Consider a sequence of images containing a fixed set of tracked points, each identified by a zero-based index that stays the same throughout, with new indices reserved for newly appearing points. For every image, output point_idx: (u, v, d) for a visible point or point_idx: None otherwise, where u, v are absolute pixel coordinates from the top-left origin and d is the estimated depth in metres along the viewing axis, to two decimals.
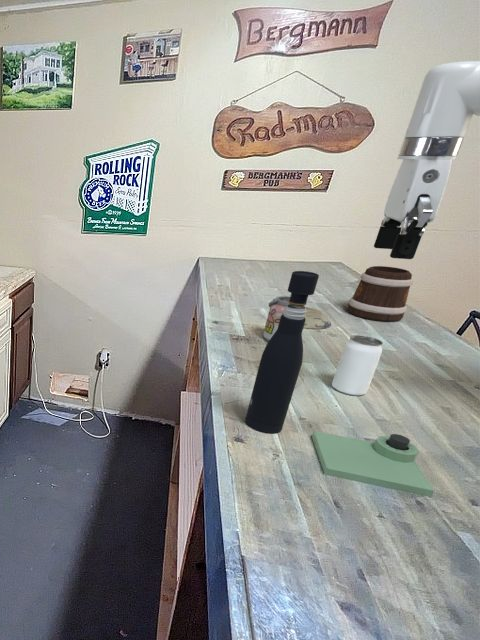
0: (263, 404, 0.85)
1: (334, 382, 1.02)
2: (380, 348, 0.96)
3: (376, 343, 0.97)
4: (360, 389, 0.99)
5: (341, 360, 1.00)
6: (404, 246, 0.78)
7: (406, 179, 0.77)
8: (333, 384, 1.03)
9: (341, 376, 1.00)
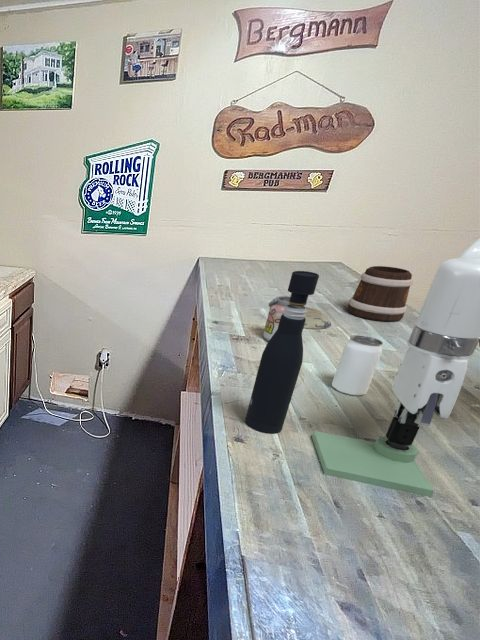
0: (263, 404, 0.85)
1: (334, 382, 1.02)
2: (380, 348, 0.96)
3: (376, 343, 0.97)
4: (360, 389, 0.99)
5: (341, 360, 1.00)
6: (402, 434, 0.76)
7: (417, 371, 0.71)
8: (333, 384, 1.03)
9: (341, 376, 1.00)
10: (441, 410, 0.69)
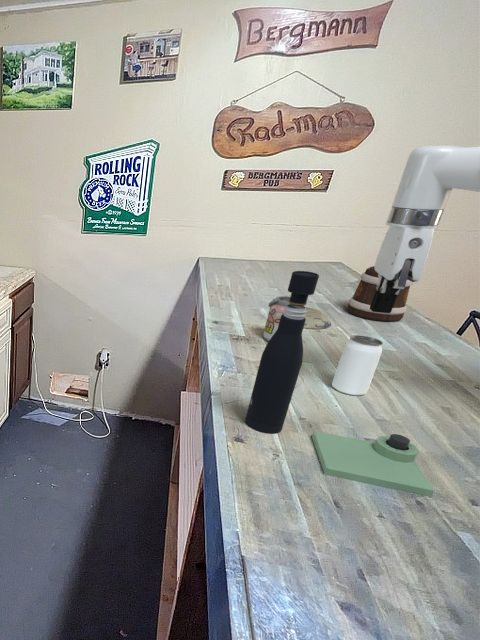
0: (263, 404, 0.85)
1: (334, 382, 1.02)
2: (380, 348, 0.96)
3: (376, 343, 0.97)
4: (360, 389, 0.99)
5: (341, 360, 1.00)
6: (383, 303, 0.91)
7: (394, 243, 0.86)
8: (333, 384, 1.03)
9: (341, 376, 1.00)
10: (413, 273, 0.85)
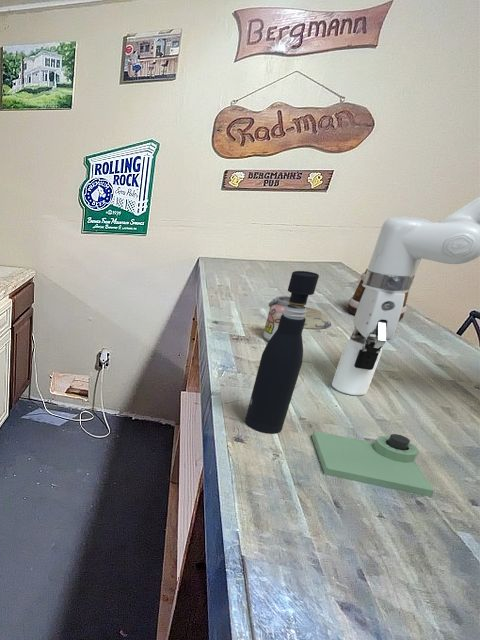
0: (263, 404, 0.85)
1: (334, 382, 1.02)
2: None
3: None
4: (360, 389, 0.99)
5: (341, 360, 1.00)
6: (365, 360, 0.95)
7: (369, 304, 0.93)
8: (333, 384, 1.03)
9: (341, 376, 1.00)
10: (386, 333, 0.91)
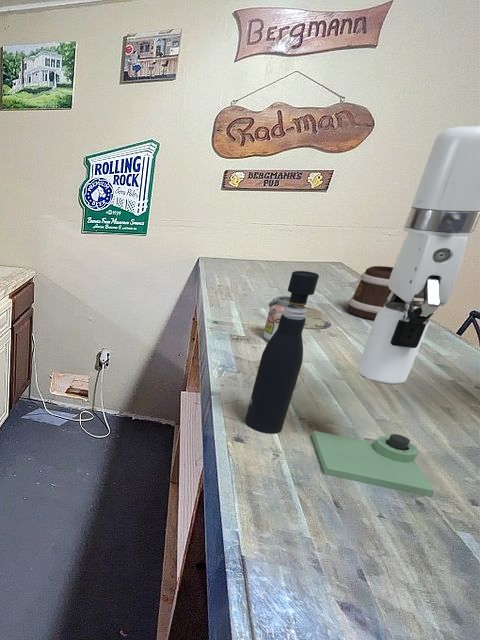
0: (263, 404, 0.85)
1: (361, 366, 0.76)
2: None
3: None
4: (397, 376, 0.72)
5: (371, 336, 0.74)
6: (406, 335, 0.68)
7: (413, 255, 0.66)
8: (359, 369, 0.76)
9: (371, 358, 0.74)
10: (439, 294, 0.65)
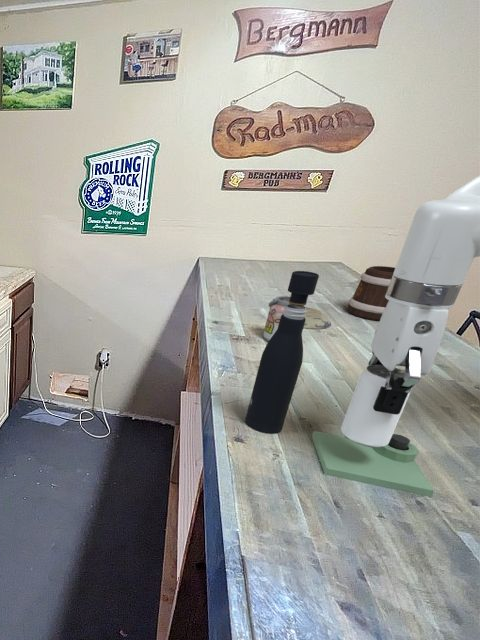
0: (263, 404, 0.85)
1: (344, 427, 0.75)
2: None
3: None
4: (380, 439, 0.72)
5: (354, 398, 0.73)
6: (389, 402, 0.68)
7: (395, 324, 0.66)
8: (343, 430, 0.76)
9: (354, 420, 0.73)
10: (421, 365, 0.64)
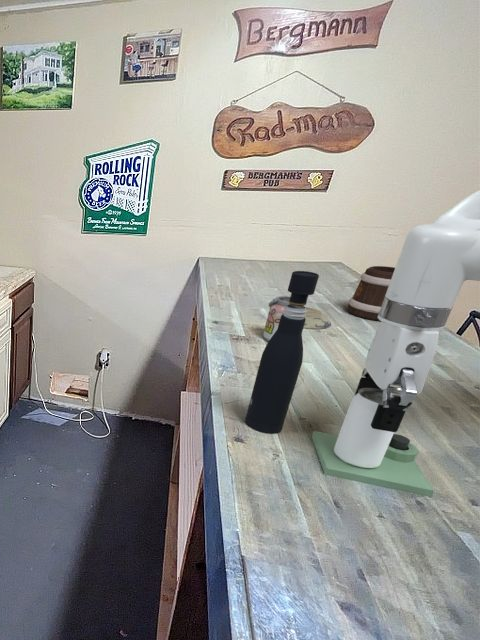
0: (263, 404, 0.85)
1: (337, 448, 0.77)
2: None
3: None
4: (371, 461, 0.74)
5: (346, 421, 0.75)
6: (386, 420, 0.68)
7: (387, 345, 0.67)
8: (336, 450, 0.78)
9: (346, 442, 0.75)
10: None
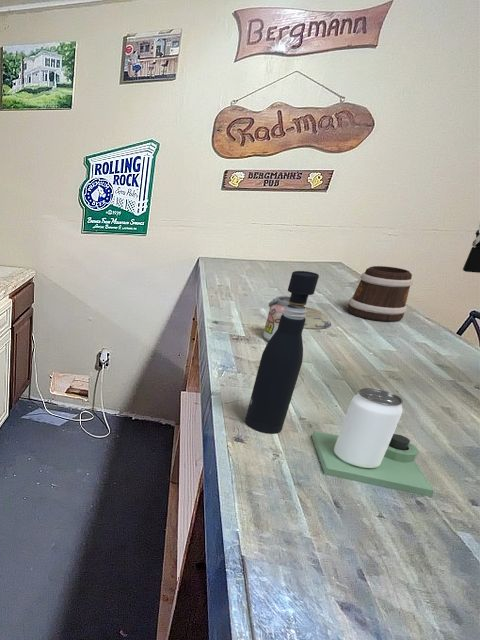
0: (263, 404, 0.85)
1: (337, 448, 0.77)
2: (400, 408, 0.70)
3: (394, 401, 0.71)
4: (371, 461, 0.74)
5: (346, 421, 0.75)
6: None
7: None
8: (336, 450, 0.78)
9: (346, 442, 0.75)
10: None
